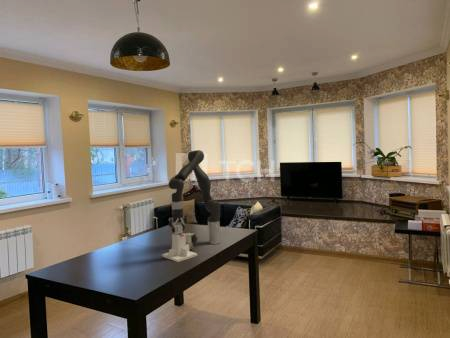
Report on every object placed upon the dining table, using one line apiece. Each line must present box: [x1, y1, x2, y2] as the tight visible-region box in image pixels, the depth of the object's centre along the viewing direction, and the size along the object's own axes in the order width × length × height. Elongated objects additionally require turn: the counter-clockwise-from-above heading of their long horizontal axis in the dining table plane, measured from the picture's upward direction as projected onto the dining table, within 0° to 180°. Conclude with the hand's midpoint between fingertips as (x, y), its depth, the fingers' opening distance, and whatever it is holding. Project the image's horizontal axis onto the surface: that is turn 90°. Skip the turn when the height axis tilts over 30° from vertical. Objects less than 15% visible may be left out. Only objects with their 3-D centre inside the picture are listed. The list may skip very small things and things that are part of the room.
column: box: [174, 224, 184, 235], centre depth 231 cm, size 4×4×20 cm
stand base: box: [161, 233, 198, 263], centre depth 232 cm, size 17×18×16 cm
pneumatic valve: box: [184, 232, 198, 250], centre depth 250 cm, size 6×12×12 cm, turn 56°
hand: (178, 231), depth 231 cm, fingers open, 7 cm apart
